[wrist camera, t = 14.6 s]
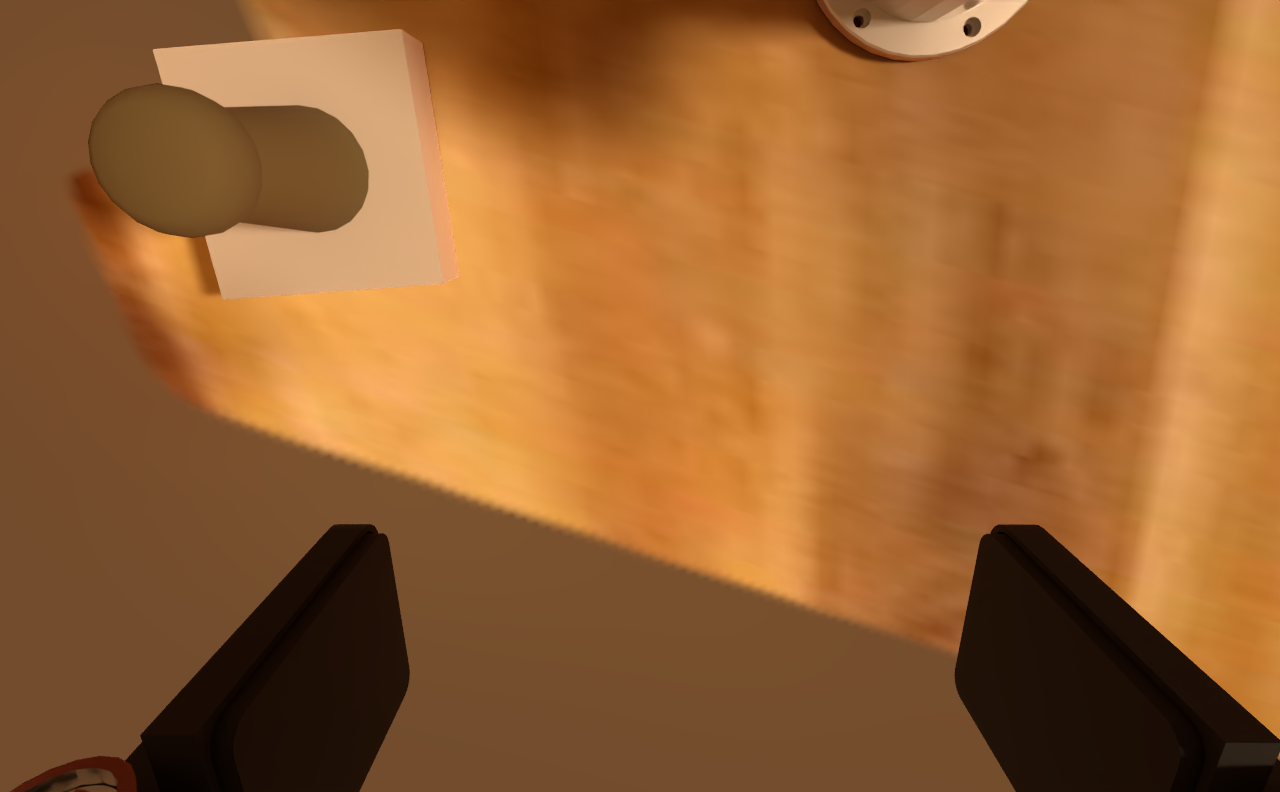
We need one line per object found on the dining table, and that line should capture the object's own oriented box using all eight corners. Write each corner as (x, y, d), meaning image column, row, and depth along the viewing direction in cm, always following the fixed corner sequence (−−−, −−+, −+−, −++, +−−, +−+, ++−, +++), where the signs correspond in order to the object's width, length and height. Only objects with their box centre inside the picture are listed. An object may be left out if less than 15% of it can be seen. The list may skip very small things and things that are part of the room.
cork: (335, 87, 30) (174, 33, 20) (389, 210, 32) (267, 221, 22) (225, 129, 31) (12, 98, 21) (283, 248, 33) (115, 276, 22)
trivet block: (195, 61, 33) (152, 49, 30) (422, 43, 32) (401, 28, 30) (255, 291, 37) (222, 299, 34) (459, 276, 36) (443, 284, 33)
